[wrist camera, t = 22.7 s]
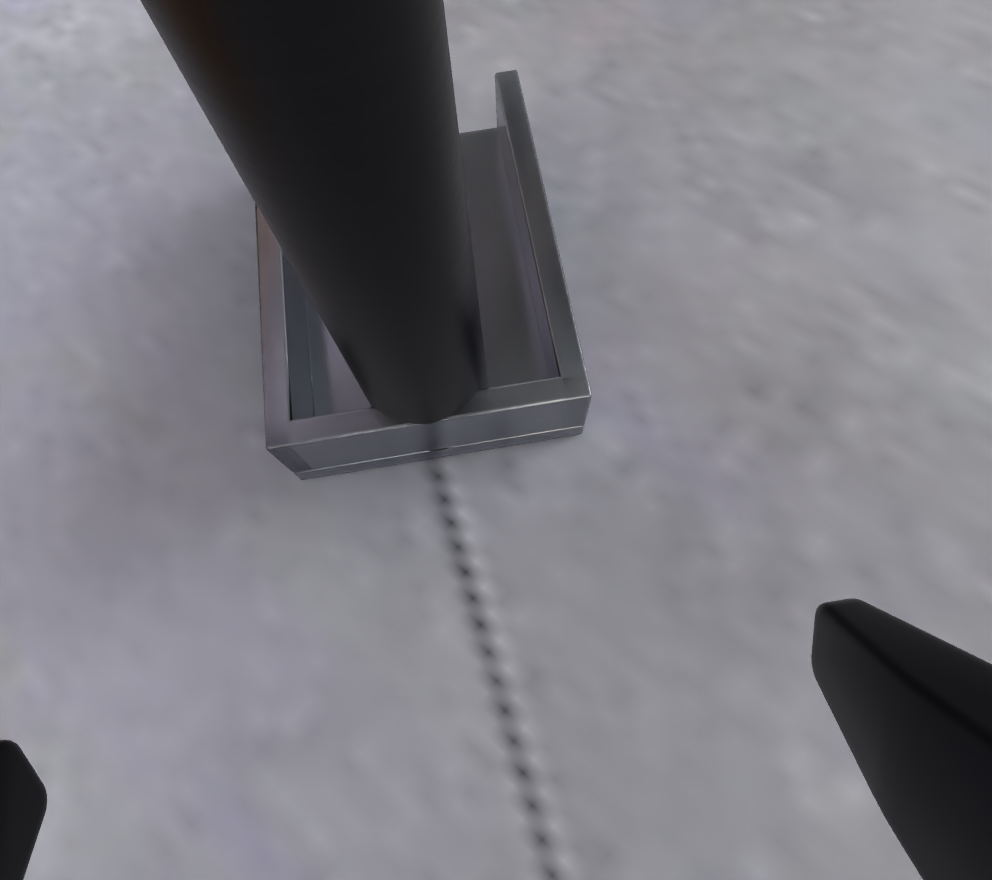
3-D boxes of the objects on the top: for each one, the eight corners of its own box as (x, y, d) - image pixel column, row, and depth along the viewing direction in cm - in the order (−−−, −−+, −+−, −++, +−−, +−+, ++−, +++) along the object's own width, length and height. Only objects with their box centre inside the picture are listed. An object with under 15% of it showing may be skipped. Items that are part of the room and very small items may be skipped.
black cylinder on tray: (582, 434, 16) (772, -311, 4) (301, 481, 16) (-416, -139, 4) (517, 139, 19) (509, -784, 7) (282, 176, 19) (-142, -700, 7)
